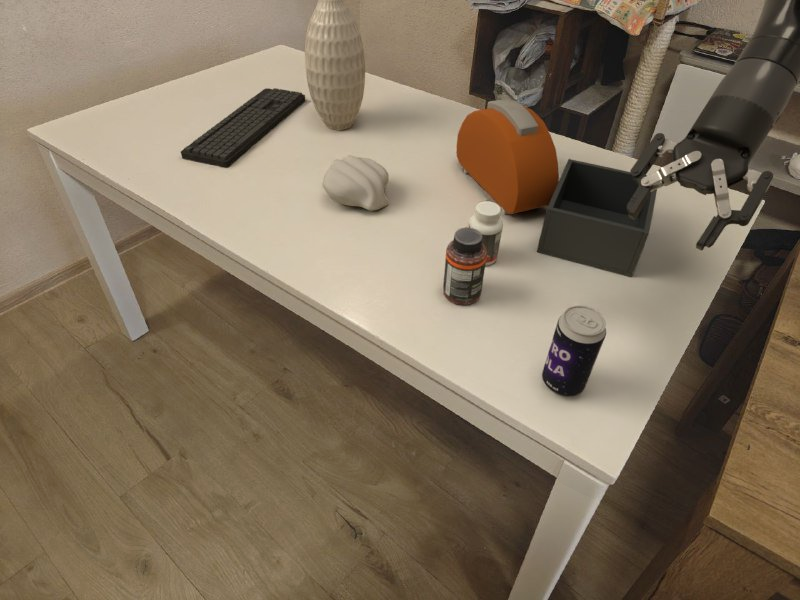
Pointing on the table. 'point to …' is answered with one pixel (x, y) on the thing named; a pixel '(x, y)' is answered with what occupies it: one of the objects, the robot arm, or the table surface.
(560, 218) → the open storage box
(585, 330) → the beverage can
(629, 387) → the table surface
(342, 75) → the vase
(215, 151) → the keyboard
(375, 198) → the shell shaped sculpture
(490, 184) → the alarm clock
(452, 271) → the supplement bottle
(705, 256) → the table surface
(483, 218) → the pill bottle
